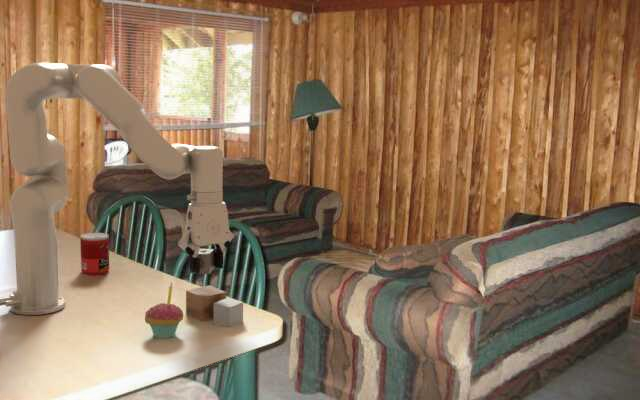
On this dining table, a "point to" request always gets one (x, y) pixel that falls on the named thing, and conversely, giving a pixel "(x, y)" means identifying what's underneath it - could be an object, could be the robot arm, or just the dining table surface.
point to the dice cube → (205, 261)
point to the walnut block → (203, 301)
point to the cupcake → (164, 318)
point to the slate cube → (228, 312)
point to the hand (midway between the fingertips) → (206, 269)
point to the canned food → (94, 253)
